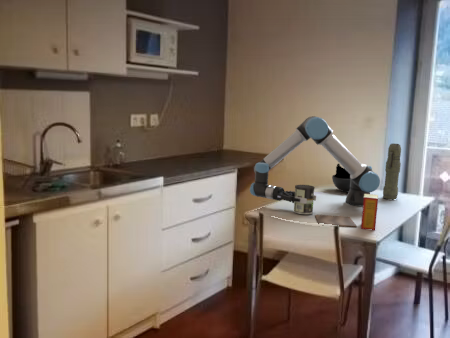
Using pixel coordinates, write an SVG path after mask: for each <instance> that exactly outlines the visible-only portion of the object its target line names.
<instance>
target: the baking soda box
mask: <svg viewBox="0 0 450 338" xmlns="http://www.w3.org/2000/svg"><path fill="white" fill-rule="evenodd" d="M378 204H379V194H371V193H370V194H364V201H363V206H362V215H361V225H360V230H366V229H372V230H371V231H376V226H377V225H376V224H377V215H378V214H377V213H378Z"/></svg>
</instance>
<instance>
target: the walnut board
mask: <svg viewBox="0 0 450 338" xmlns="http://www.w3.org/2000/svg"><path fill="white" fill-rule="evenodd" d="M314 216H315V219H316V221H317V223H318V224H319V223H324V224H332V225H339V226H338V227H342V228H343V227H345V228H357V227H358V226H357V224H356V223H355V222H354V220H353V219H352V218H351V216H344V215H330V214H329V215H328V214H314Z"/></svg>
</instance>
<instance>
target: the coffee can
mask: <svg viewBox="0 0 450 338" xmlns="http://www.w3.org/2000/svg"><path fill="white" fill-rule="evenodd" d="M294 192H295V197H301V198H306V199H307V202H306V204H304V203H299V202H295V201H294V203H293V212H294V213H295V214H300V215H311V214H313V213H314V212H313V210H314V200H313V199H314V195H315V186H313V185H309V184H296V185H294Z"/></svg>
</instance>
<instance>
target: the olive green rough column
mask: <svg viewBox="0 0 450 338" xmlns="http://www.w3.org/2000/svg"><path fill="white" fill-rule="evenodd" d="M387 149H388V150H387V160H386V162H385V168H384V169H385V178H384V179H385V180H384V186H383V188H382V189H383V191H382V198H383V199H384V198H386V199H385V200H388V199H396V198H397V199H398V196H399V195H398V194H399V187H398V185H399V176H400V172H401V166H402V165H401V156H402V155H401V153H402V147H401V144H399V143H390V144H389V146H388V148H387Z"/></svg>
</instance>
